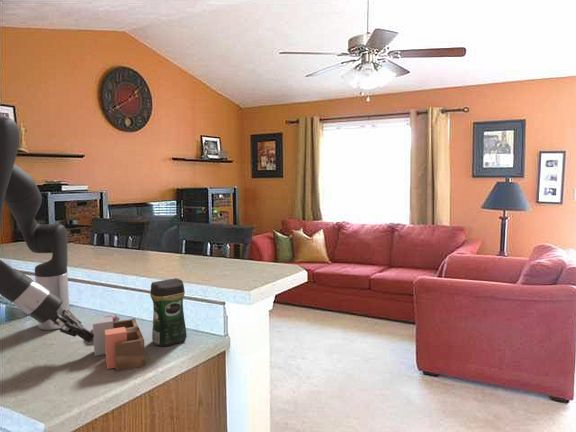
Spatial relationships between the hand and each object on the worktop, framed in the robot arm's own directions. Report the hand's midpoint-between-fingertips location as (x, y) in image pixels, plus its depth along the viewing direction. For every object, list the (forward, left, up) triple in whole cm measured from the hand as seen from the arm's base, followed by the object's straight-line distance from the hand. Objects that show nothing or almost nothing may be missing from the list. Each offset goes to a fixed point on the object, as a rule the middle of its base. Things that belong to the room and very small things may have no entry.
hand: (91, 338), depth 121 cm
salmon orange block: (+10, +5, -4) cm, 12 cm away
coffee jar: (0, +21, -5) cm, 21 cm away
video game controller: (-14, +4, -5) cm, 16 cm away
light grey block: (0, +3, -4) cm, 5 cm away
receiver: (+5, +8, -4) cm, 11 cm away
